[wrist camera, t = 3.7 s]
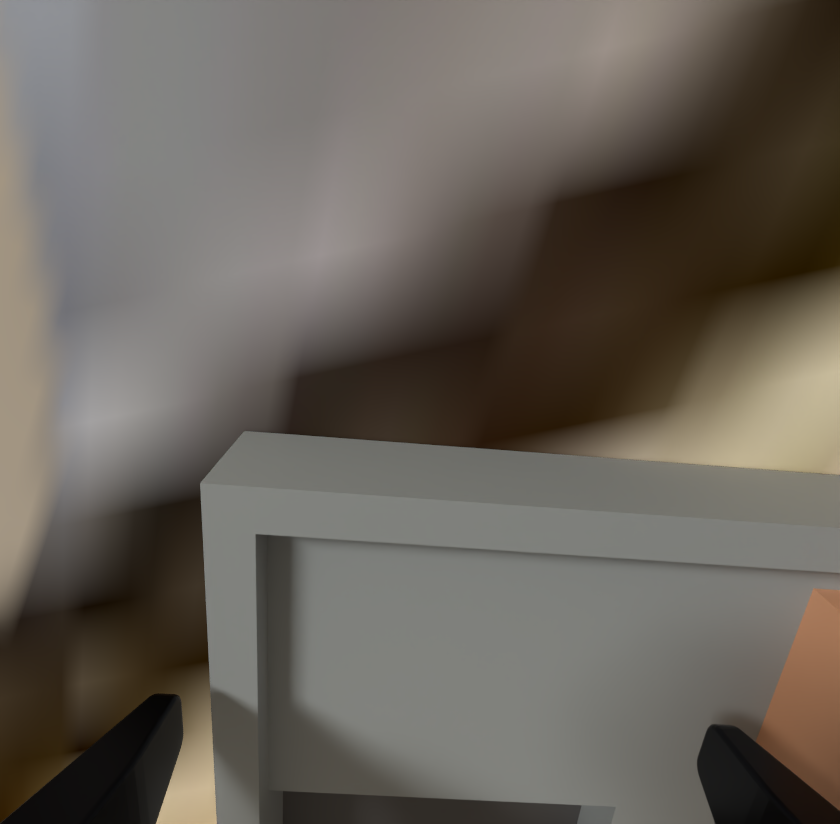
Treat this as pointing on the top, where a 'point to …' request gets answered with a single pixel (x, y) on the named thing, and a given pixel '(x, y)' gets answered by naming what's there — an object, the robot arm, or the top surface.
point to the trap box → (493, 628)
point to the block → (810, 700)
